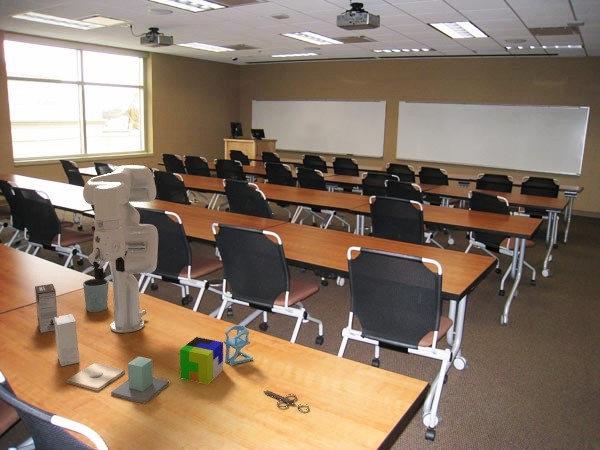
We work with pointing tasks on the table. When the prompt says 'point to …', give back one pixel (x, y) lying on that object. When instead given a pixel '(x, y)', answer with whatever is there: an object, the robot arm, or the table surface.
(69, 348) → the skincare box
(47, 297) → the coffee box
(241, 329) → the chair
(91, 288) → the teal cup
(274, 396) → the syringe
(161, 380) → the slate mat
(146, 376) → the teal block
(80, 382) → the birch pad
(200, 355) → the puzzle toy
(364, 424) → the table surface
